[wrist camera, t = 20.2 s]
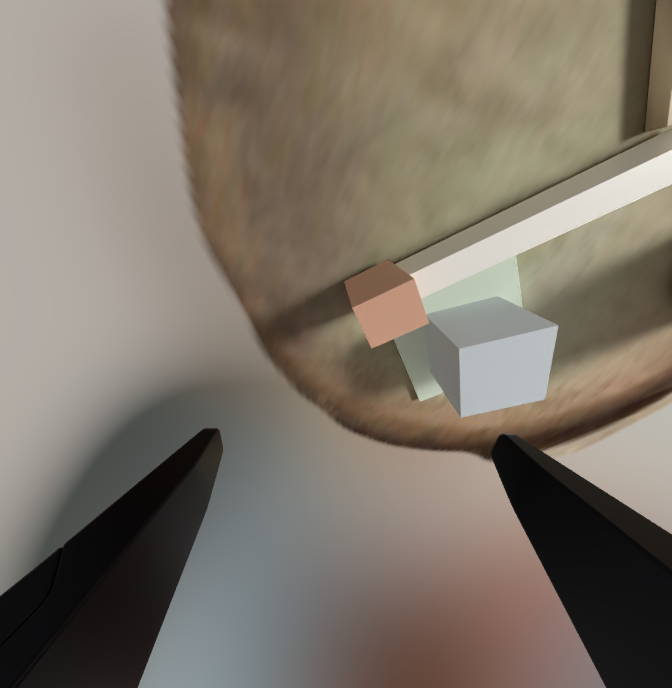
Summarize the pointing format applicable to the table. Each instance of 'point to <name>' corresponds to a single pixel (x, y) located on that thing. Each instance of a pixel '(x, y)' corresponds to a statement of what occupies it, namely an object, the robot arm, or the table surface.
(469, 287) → the mat
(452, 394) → the block
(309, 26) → the table surface
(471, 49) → the table surface
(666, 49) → the wooden u frame
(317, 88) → the table surface
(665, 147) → the bar
